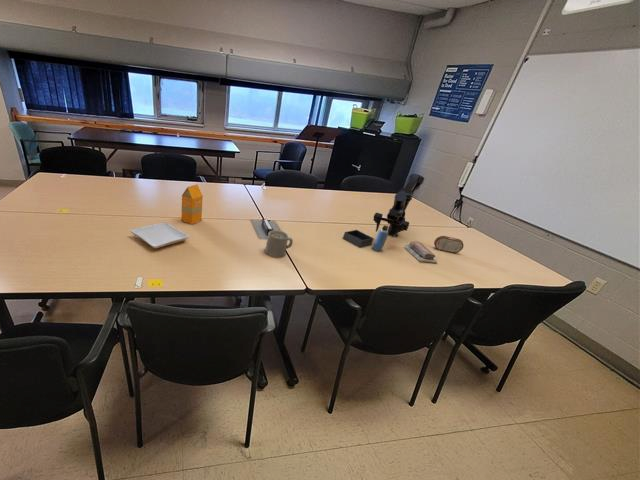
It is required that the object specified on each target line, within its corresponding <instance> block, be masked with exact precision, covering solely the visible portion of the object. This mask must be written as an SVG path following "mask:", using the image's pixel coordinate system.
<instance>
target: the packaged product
mask: <svg viewBox="0 0 640 480" xmlns="http://www.w3.org/2000/svg"><path fill="white" fill-rule="evenodd" d="M404 248H405V249H406V250H407V251H408V252H409V253H410V254H411V255H412V256H413V257H414V258H416V260H417V261H419V262H420V263H421V262H422V263H434V264H438V260H437V259H435V258H436V255H435V253H433V252H432V251H431V250H430V249H429V248H427V247H426V245H424V244H423V242H420V241H416V240H415V241H414V240H413V241H410V242H409V243H408V244H406V245H405V246H404Z"/></svg>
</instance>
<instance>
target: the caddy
mask: <svg viewBox="0 0 640 480" xmlns="http://www.w3.org/2000/svg"><path fill="white" fill-rule="evenodd" d="M343 239H344V240H345V241H347V242H349V243H351V244H353V245H354V246H357V247H358V248H364V247H367V246H371V245H372V244H373V242H374V237H373V236H369V234H366V233H364V232H363V231H360V230H358V229H354V230H349V231H348V230H347V231H344V234H343V237H342V240H343Z"/></svg>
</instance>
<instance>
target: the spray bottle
mask: <svg viewBox="0 0 640 480" xmlns="http://www.w3.org/2000/svg"><path fill="white" fill-rule="evenodd" d="M388 228H389V226H388V225H383V226H382V228H381V229H378V233H377V236H376V238H375V241H374V243H373V246H372V250H373V251H375V252H382V251H383V248H384V245H385V244H386V240H387V237H388V235H389V234H388Z"/></svg>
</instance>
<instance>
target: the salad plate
mask: <svg viewBox="0 0 640 480" xmlns="http://www.w3.org/2000/svg"><path fill="white" fill-rule="evenodd" d="M129 231H130V233H131V234H132V235H134V236H135V237H137V238H138V239H140V240H141V241H143V242H145V243H146V244H147V245H149V246H150V247H151V248H152V249H159V248H163V247H168V246H171V245H173V244H178V243H179V242H183V241H185V240H188V239H189V238H190V235H189V234H187V233H185V232H183V231H182V230H180V229H178V228H177V227H175V226H173V225H171V224H170V223H168V222H158V223H154V224H150V225H146V226H140V227H137V228H132V229H130V230H129Z"/></svg>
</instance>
